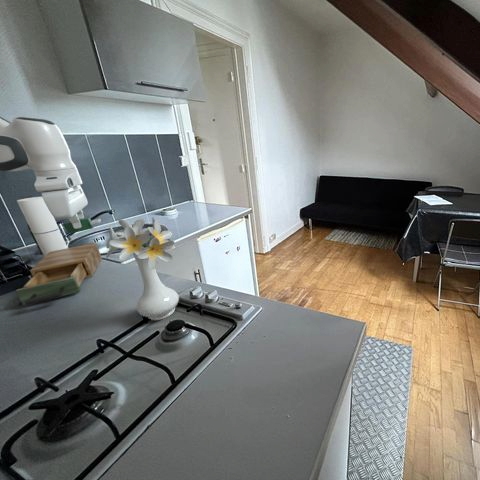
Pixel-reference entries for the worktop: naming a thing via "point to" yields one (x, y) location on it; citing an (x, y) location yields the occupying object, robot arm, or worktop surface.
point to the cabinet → (71, 259)
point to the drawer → (53, 283)
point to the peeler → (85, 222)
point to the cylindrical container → (42, 224)
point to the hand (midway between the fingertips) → (80, 226)
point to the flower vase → (147, 264)
